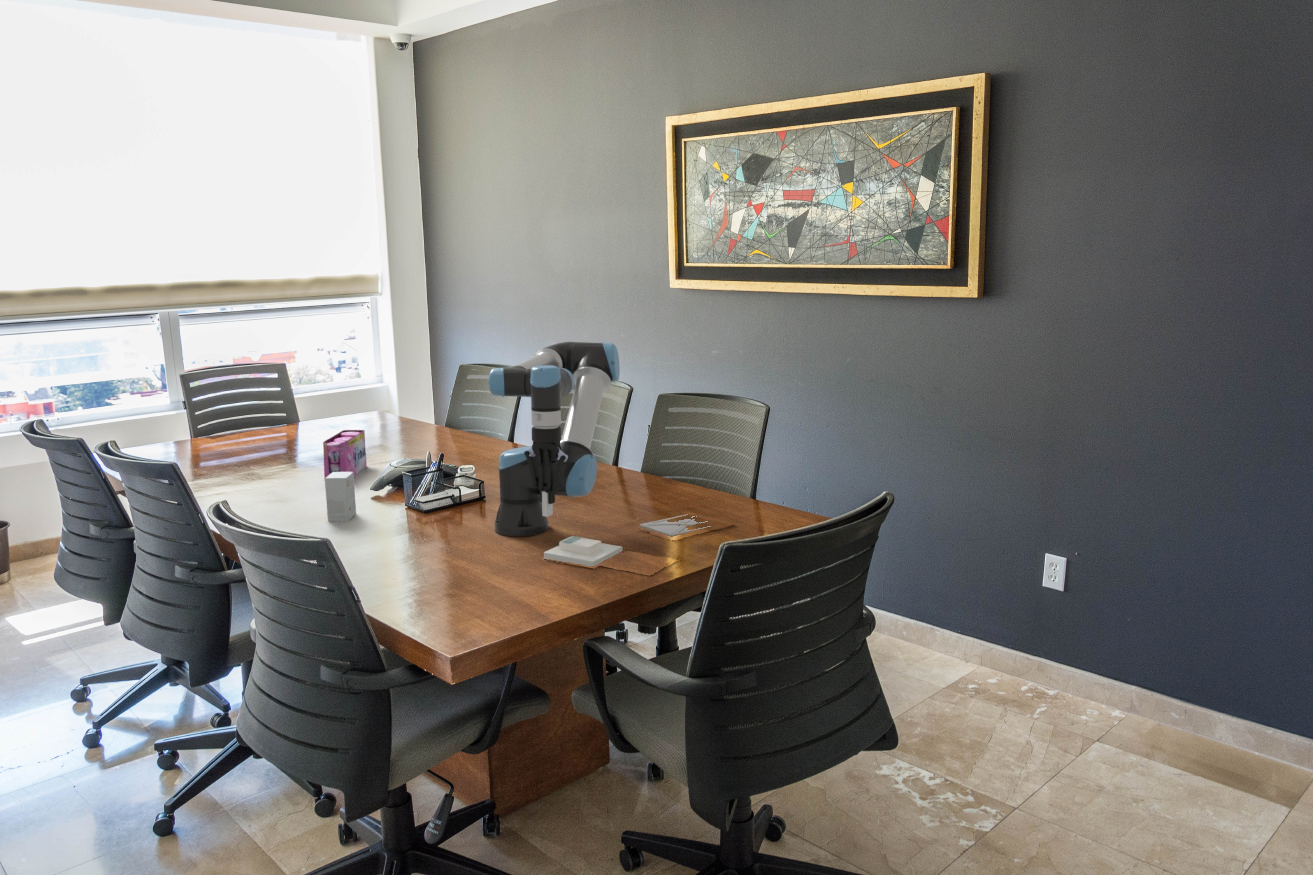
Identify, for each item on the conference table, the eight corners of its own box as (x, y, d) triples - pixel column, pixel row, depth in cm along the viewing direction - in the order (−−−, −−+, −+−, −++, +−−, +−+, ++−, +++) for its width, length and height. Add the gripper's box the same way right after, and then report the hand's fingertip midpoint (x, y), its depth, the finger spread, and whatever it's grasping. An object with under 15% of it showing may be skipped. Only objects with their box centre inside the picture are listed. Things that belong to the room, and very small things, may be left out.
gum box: (345, 482, 327) (343, 443, 324) (322, 482, 327) (320, 442, 324) (367, 466, 350) (365, 429, 348) (345, 466, 350) (343, 429, 348)
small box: (335, 513, 288) (332, 471, 286) (356, 513, 289) (354, 471, 286) (327, 521, 280) (324, 477, 278) (349, 521, 281) (346, 477, 278)
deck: (574, 545, 259) (574, 538, 258) (622, 554, 252) (622, 546, 251) (543, 559, 247) (543, 552, 246) (593, 569, 240) (593, 561, 239)
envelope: (734, 527, 278) (701, 517, 288) (734, 520, 278) (701, 510, 288) (671, 542, 263) (639, 530, 273) (671, 534, 262) (639, 523, 272)
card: (572, 543, 254) (572, 535, 254) (601, 548, 250) (601, 540, 249) (559, 549, 249) (559, 541, 249) (588, 554, 245) (588, 546, 244)
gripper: (516, 426, 248) (518, 514, 252) (558, 430, 242) (559, 521, 246) (534, 421, 254) (536, 508, 259) (575, 426, 248) (576, 515, 252)
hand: (547, 514), depth 252 cm, fingers closed
